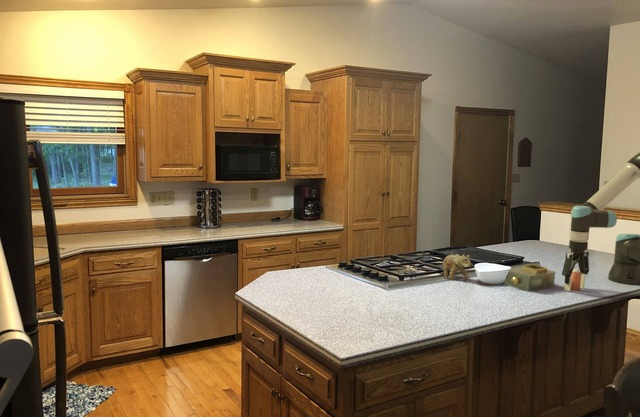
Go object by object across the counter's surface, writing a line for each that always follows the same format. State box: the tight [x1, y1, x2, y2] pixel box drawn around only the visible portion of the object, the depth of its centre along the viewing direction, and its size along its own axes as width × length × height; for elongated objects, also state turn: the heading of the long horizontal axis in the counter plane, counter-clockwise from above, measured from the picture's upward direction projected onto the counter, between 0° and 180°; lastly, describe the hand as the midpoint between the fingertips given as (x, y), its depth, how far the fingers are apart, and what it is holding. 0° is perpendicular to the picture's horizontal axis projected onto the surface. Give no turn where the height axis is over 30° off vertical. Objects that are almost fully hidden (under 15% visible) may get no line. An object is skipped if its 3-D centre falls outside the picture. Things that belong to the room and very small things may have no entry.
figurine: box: [442, 253, 472, 282], centre depth 254 cm, size 10×16×16 cm, turn 14°
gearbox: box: [504, 263, 556, 293], centre depth 245 cm, size 20×13×8 cm, turn 121°
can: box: [571, 269, 581, 292], centre depth 241 cm, size 5×5×9 cm
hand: (574, 289), depth 241 cm, fingers open, 9 cm apart
